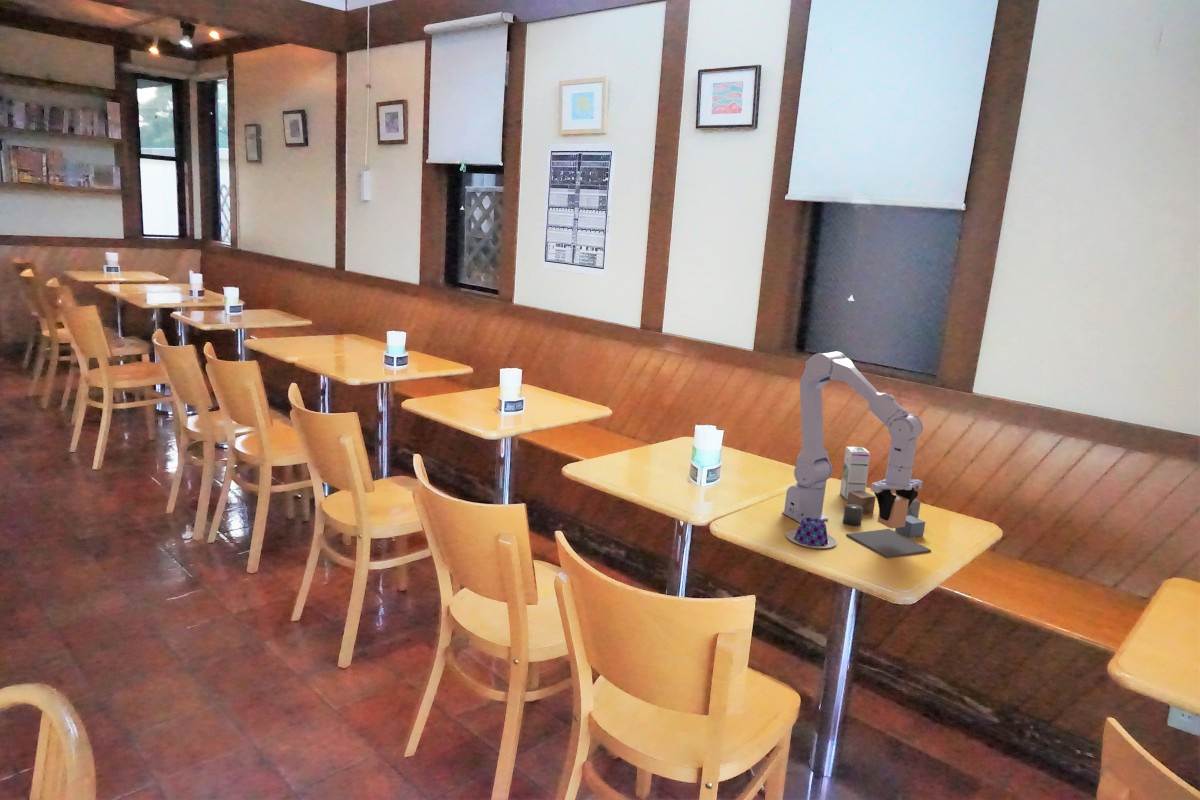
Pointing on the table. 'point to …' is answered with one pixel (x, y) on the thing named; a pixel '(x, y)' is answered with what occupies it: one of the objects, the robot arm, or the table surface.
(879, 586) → the table surface
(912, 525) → the slate blue block
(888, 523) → the terracotta block
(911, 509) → the dark steel can
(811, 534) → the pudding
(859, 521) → the charcoal cylinder
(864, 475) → the syrup box
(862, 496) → the walnut block
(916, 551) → the charcoal mat
